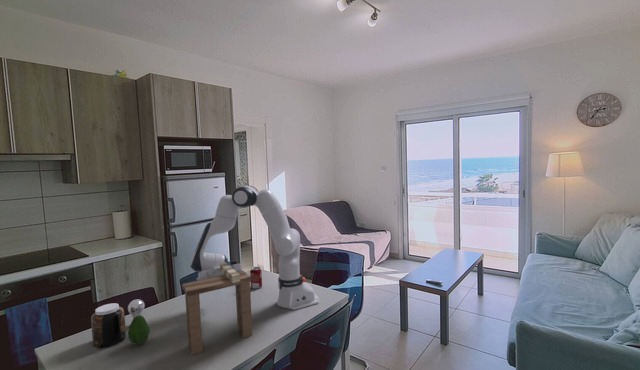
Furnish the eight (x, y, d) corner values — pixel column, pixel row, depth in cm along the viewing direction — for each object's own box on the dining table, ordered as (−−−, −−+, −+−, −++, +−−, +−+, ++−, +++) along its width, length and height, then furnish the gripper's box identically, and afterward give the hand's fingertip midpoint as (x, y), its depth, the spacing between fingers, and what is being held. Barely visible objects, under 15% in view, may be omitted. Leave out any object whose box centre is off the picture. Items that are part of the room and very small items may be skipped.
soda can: (259, 289, 187) (258, 270, 186) (249, 289, 189) (248, 269, 188) (263, 285, 194) (263, 266, 193) (253, 284, 195) (252, 266, 194)
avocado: (145, 336, 140) (143, 310, 139) (153, 342, 135) (151, 315, 134) (125, 344, 133) (123, 317, 133) (133, 351, 128) (130, 322, 128)
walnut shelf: (186, 343, 133) (182, 283, 131) (245, 325, 147) (243, 270, 145) (190, 355, 124) (186, 291, 122) (253, 334, 138) (250, 277, 136)
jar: (106, 350, 129) (103, 315, 128) (86, 346, 133) (83, 311, 132) (132, 335, 140) (129, 303, 139) (113, 331, 144) (110, 300, 143)
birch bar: (219, 269, 147) (219, 263, 147) (226, 268, 148) (225, 262, 148) (232, 283, 130) (232, 275, 130) (239, 281, 132) (239, 274, 131)
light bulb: (125, 326, 149) (123, 302, 148) (138, 319, 155) (136, 296, 154) (136, 328, 146) (134, 303, 145) (149, 321, 153) (147, 297, 152)
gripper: (194, 273, 153) (199, 266, 143) (236, 265, 164) (242, 257, 154) (196, 286, 151) (201, 280, 140) (238, 277, 162) (245, 270, 151)
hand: (223, 268), depth 147 cm, fingers open, 8 cm apart
